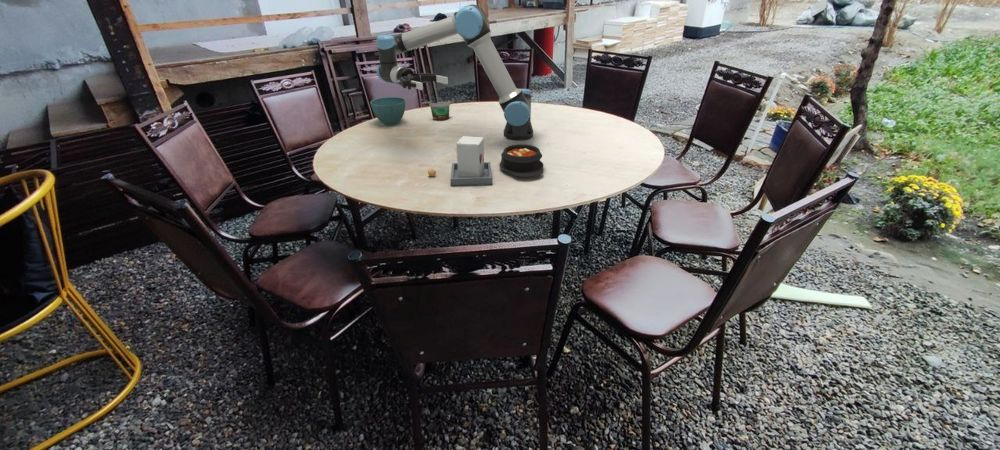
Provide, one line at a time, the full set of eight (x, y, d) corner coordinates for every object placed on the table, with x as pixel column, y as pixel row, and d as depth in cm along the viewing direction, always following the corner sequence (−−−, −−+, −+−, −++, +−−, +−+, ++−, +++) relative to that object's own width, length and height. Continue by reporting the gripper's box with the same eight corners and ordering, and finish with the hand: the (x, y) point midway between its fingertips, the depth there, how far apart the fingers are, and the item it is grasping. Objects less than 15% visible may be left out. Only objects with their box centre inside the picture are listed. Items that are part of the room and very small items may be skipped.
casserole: (553, 178, 169) (554, 158, 165) (509, 183, 165) (509, 164, 160) (531, 156, 190) (532, 138, 185) (492, 160, 185) (491, 142, 181)
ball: (436, 174, 172) (435, 167, 171) (435, 177, 170) (435, 170, 168) (428, 174, 172) (427, 167, 170) (427, 177, 169) (427, 170, 168)
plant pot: (367, 126, 226) (363, 103, 220) (386, 117, 241) (383, 95, 235) (396, 130, 221) (393, 106, 215) (413, 120, 236) (411, 98, 229)
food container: (434, 122, 232) (432, 104, 227) (430, 119, 237) (428, 101, 232) (454, 119, 237) (453, 101, 232) (450, 116, 242) (449, 99, 236)
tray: (490, 168, 177) (490, 162, 176) (492, 185, 164) (492, 177, 162) (452, 169, 176) (452, 163, 175) (450, 186, 163) (450, 179, 161)
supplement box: (479, 181, 165) (478, 144, 157) (457, 179, 167) (455, 143, 159) (485, 172, 173) (484, 136, 165) (464, 170, 174) (462, 135, 167)
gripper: (425, 80, 194) (457, 87, 182) (380, 90, 178) (411, 98, 166) (424, 63, 190) (456, 69, 178) (377, 71, 174) (409, 79, 162)
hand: (435, 83), depth 172 cm, fingers open, 13 cm apart
